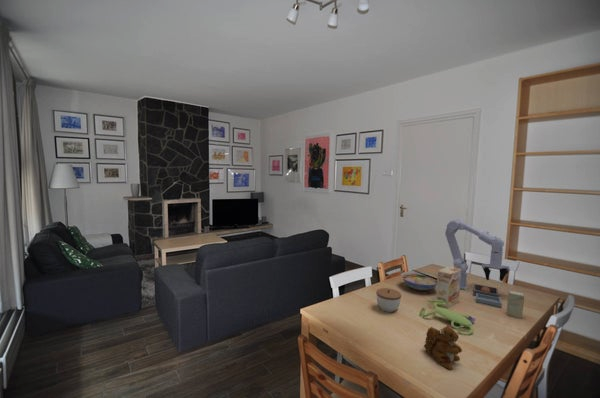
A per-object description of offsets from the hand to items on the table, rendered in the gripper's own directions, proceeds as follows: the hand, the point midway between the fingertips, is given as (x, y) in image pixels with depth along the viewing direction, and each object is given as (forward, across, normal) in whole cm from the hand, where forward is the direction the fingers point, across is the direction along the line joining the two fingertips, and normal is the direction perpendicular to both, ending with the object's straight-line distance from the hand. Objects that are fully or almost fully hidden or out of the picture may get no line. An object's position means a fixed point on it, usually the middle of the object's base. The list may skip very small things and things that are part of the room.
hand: (494, 280), depth 174 cm
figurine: (+10, -39, -37) cm, 55 cm away
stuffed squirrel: (+10, -53, -70) cm, 88 cm away
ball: (+7, -4, 0) cm, 8 cm away
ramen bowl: (+10, -43, +1) cm, 44 cm away
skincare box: (+10, -2, -26) cm, 28 cm away
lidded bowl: (+10, -67, -32) cm, 75 cm away
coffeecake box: (+10, -32, -17) cm, 37 cm away
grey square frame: (+10, -4, 0) cm, 10 cm away
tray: (+9, -8, -12) cm, 17 cm away
